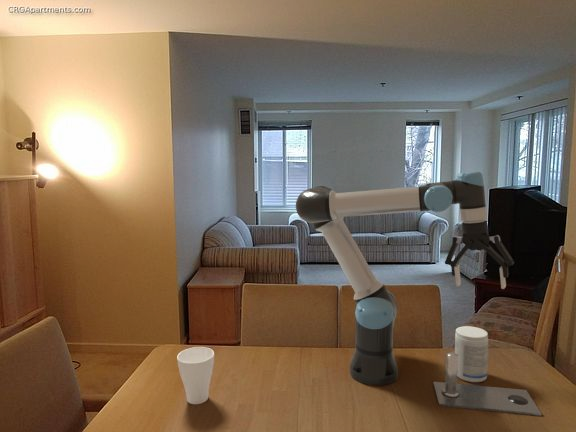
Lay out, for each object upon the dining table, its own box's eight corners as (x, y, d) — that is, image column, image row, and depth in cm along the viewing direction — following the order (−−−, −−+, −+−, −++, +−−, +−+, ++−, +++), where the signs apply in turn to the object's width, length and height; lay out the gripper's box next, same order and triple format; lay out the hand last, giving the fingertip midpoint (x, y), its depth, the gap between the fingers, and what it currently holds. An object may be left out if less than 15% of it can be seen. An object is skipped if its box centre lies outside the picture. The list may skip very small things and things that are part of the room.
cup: (222, 392, 126) (220, 349, 124) (204, 412, 116) (202, 365, 114) (191, 386, 129) (189, 344, 128) (171, 405, 120) (169, 360, 118)
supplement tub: (493, 377, 133) (495, 333, 131) (475, 387, 127) (477, 340, 126) (465, 365, 141) (467, 323, 139) (447, 373, 135) (449, 329, 134)
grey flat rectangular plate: (439, 405, 118) (439, 403, 118) (433, 383, 130) (433, 381, 130) (541, 415, 113) (541, 413, 113) (525, 391, 124) (526, 389, 124)
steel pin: (443, 396, 121) (445, 357, 120) (441, 388, 126) (442, 350, 124) (460, 398, 120) (461, 358, 119) (457, 390, 125) (458, 351, 123)
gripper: (520, 217, 128) (526, 285, 130) (438, 220, 144) (445, 281, 146) (515, 221, 122) (521, 292, 124) (430, 224, 138) (437, 287, 140)
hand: (480, 286), depth 135 cm, fingers open, 13 cm apart
